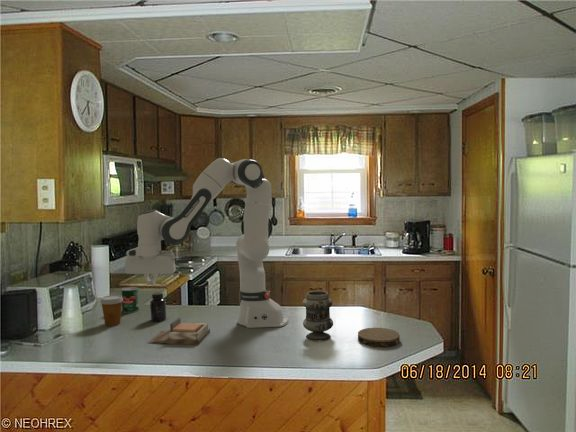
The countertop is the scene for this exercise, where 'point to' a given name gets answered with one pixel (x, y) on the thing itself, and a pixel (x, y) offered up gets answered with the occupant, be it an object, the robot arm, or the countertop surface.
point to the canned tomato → (130, 299)
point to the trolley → (184, 327)
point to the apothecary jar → (317, 315)
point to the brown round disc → (378, 337)
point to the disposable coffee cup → (112, 309)
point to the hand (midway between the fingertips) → (151, 284)
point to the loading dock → (181, 336)
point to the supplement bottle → (158, 307)
